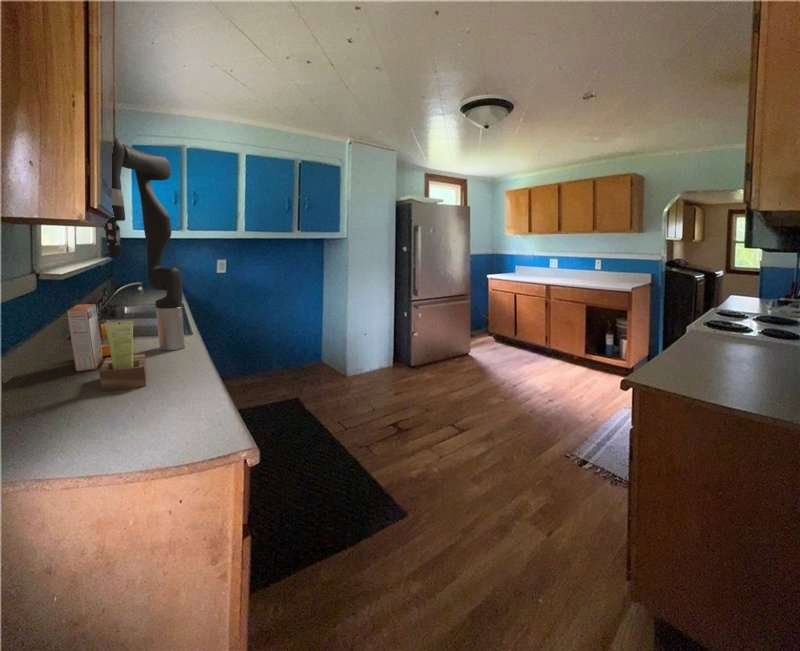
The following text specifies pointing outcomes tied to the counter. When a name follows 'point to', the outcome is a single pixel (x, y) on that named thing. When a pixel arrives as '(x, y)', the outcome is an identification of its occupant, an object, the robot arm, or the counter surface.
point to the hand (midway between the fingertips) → (115, 257)
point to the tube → (120, 343)
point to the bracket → (105, 347)
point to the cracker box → (85, 336)
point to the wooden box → (123, 374)
